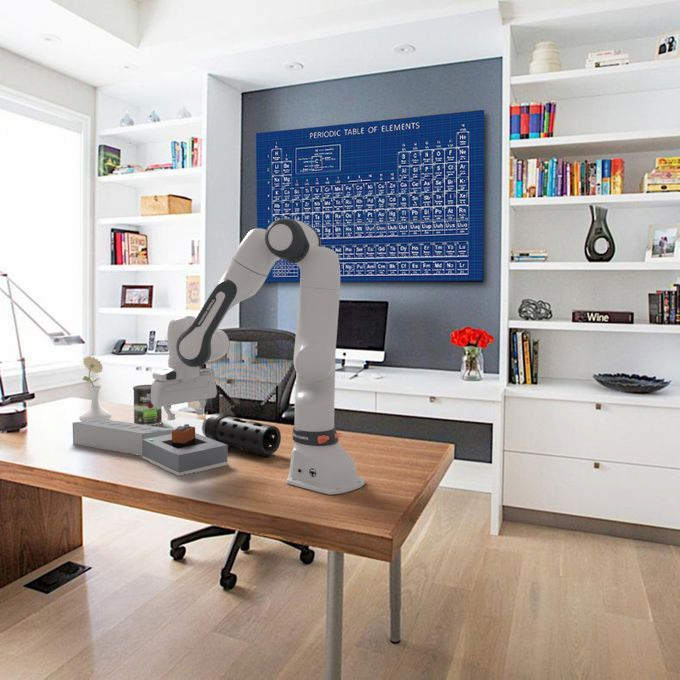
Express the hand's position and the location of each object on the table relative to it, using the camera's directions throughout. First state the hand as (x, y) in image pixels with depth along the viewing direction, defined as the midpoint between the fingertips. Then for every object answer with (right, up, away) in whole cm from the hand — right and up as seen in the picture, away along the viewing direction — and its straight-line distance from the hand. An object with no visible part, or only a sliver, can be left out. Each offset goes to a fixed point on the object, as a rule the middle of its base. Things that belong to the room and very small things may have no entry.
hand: (185, 417), depth 175 cm
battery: (-1, -13, +1) cm, 13 cm away
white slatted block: (-26, -12, +19) cm, 34 cm away
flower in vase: (-48, -8, +50) cm, 70 cm away
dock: (-1, -14, +1) cm, 14 cm away
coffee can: (-27, -9, +48) cm, 56 cm away
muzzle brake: (+13, -13, +15) cm, 24 cm away
